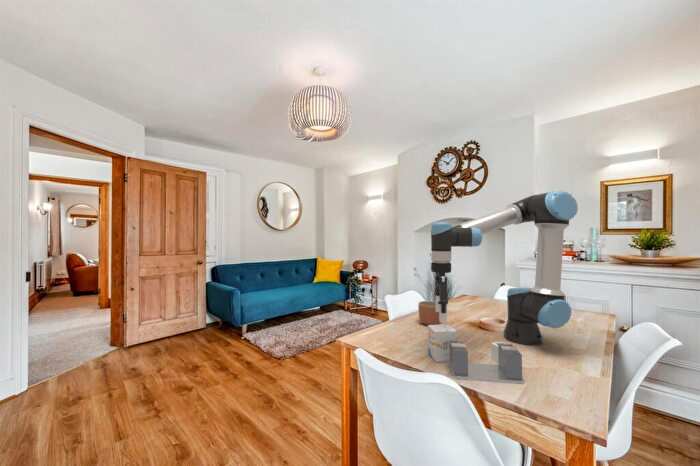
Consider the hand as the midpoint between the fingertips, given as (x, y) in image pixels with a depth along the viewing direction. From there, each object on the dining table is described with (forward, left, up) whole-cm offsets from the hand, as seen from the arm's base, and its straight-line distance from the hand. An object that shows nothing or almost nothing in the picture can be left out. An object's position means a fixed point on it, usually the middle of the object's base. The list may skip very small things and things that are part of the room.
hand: (440, 316), depth 114 cm
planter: (+1, -42, -16) cm, 45 cm away
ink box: (0, 0, -16) cm, 16 cm away
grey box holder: (-13, +11, -16) cm, 23 cm away
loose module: (-22, 0, -16) cm, 27 cm away
